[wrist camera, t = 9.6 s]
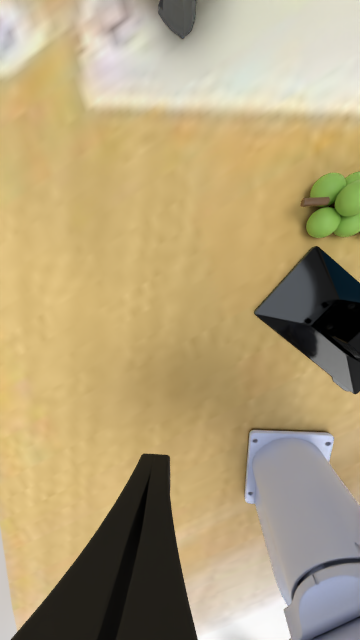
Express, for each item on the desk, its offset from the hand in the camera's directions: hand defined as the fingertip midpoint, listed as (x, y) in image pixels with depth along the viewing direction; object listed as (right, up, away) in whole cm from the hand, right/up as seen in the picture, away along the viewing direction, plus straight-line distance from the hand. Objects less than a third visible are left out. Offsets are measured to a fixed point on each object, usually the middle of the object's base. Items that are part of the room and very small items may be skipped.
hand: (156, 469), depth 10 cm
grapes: (+14, +16, +5) cm, 22 cm away
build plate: (+15, +7, +7) cm, 18 cm away
